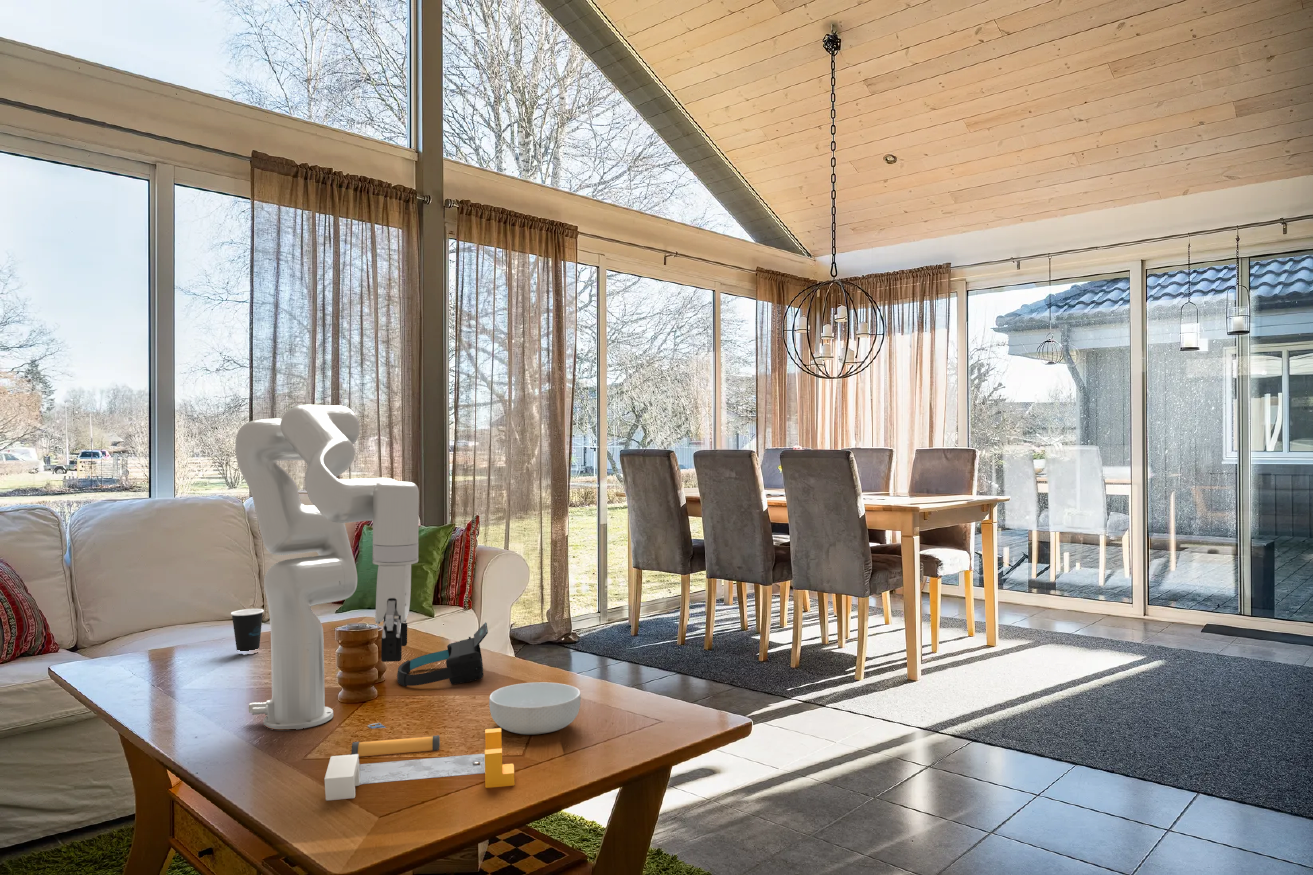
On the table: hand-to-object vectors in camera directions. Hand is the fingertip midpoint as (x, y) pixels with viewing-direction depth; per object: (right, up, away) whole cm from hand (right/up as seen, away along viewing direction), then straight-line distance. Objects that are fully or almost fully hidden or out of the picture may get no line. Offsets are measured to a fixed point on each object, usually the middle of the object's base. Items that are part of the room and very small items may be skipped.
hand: (394, 653), depth 151 cm
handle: (+1, -18, -1) cm, 18 cm away
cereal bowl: (+23, -17, +11) cm, 31 cm away
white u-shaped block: (-2, -17, -18) cm, 25 cm away
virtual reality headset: (-4, -19, +52) cm, 56 cm away
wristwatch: (-3, -18, +9) cm, 21 cm away
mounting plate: (+6, -17, -10) cm, 21 cm away
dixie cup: (-63, -20, +81) cm, 104 cm away
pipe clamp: (+20, -17, -12) cm, 29 cm away
